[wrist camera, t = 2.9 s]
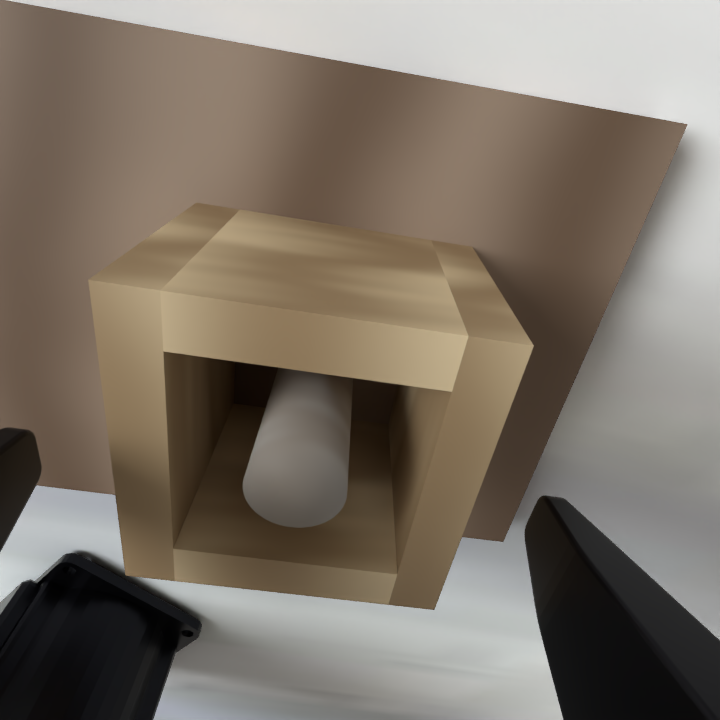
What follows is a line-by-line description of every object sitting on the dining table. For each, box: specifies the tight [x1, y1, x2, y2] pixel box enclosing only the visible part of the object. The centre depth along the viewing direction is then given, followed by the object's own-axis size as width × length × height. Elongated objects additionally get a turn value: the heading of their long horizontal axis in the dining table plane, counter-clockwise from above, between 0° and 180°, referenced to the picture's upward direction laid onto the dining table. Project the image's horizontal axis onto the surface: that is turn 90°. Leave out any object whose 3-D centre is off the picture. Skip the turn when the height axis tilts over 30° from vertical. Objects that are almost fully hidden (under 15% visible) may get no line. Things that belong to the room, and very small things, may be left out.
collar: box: [88, 203, 534, 610], centre depth 11 cm, size 6×6×5 cm
